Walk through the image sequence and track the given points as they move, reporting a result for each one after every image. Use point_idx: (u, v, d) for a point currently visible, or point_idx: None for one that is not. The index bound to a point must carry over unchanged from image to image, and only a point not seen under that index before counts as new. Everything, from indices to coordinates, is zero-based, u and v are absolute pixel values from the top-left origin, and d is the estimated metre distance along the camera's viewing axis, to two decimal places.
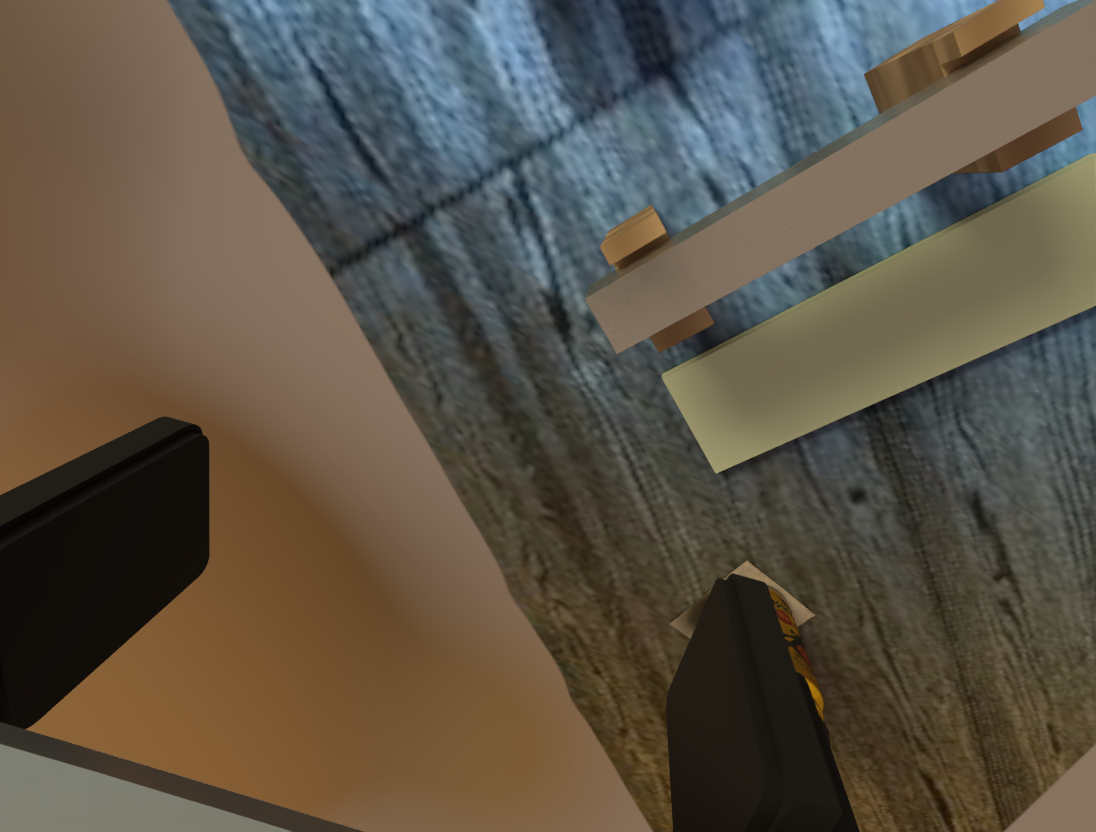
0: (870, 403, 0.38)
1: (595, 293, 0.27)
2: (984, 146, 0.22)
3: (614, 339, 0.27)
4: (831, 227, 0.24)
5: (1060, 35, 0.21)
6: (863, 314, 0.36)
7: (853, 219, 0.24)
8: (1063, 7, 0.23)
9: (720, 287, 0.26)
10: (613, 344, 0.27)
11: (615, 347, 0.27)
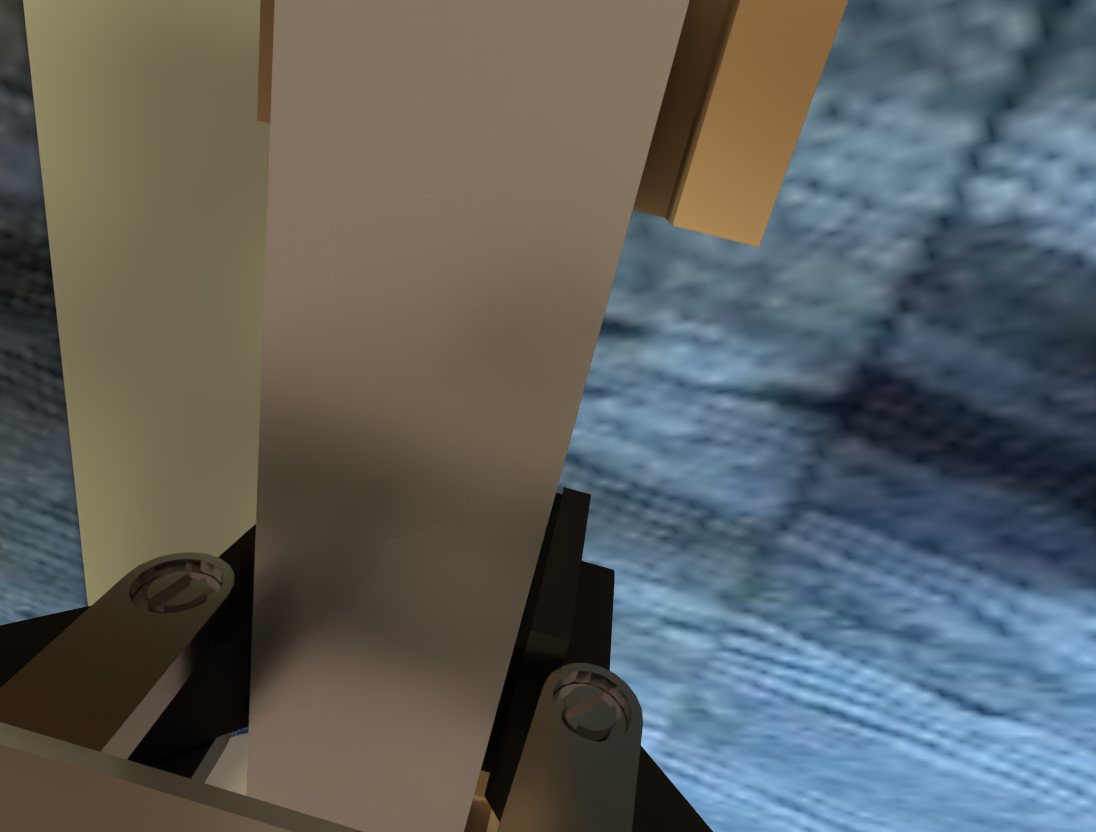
0: (56, 280, 0.18)
1: None
2: None
3: None
4: (282, 670, 0.07)
5: None
6: (229, 379, 0.18)
7: (268, 715, 0.07)
8: None
9: (311, 261, 0.05)
10: None
11: None
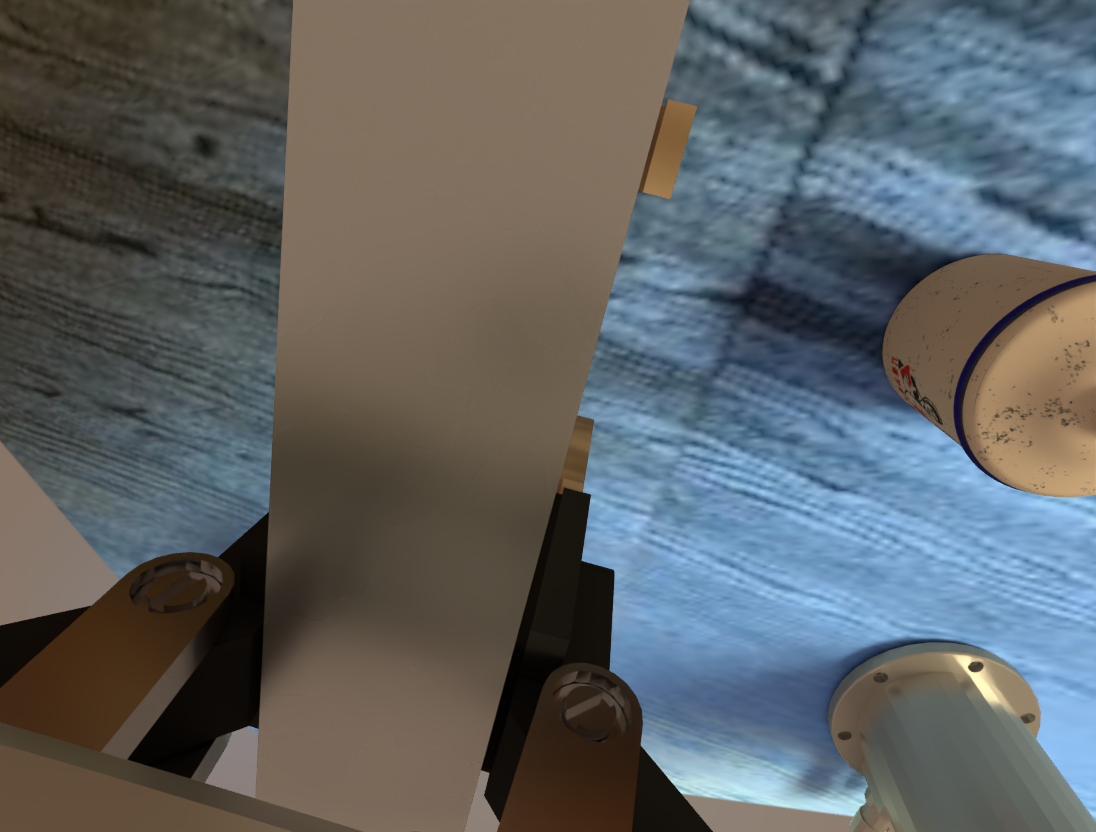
0: None
1: None
2: None
3: None
4: (293, 655, 0.07)
5: None
6: None
7: (279, 699, 0.08)
8: None
9: (325, 255, 0.05)
10: None
11: None
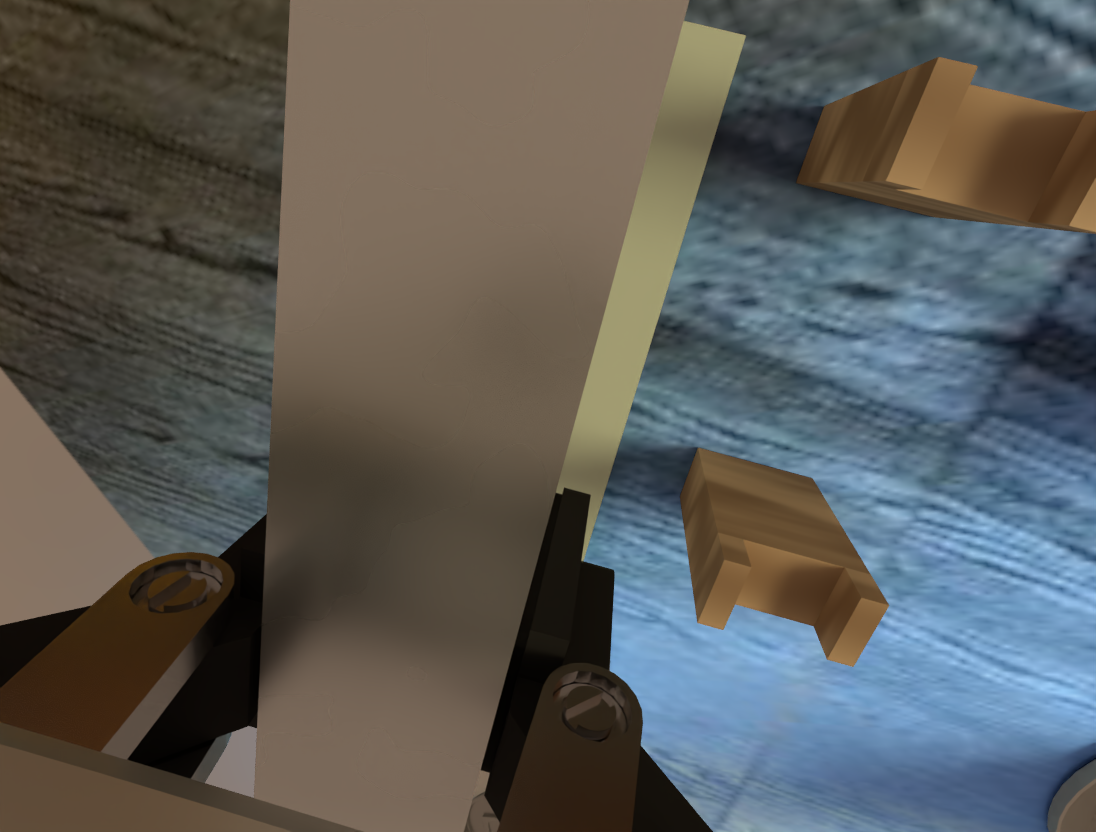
0: None
1: None
2: None
3: None
4: (291, 655, 0.07)
5: None
6: (605, 328, 0.27)
7: (277, 700, 0.07)
8: None
9: (323, 253, 0.05)
10: None
11: None
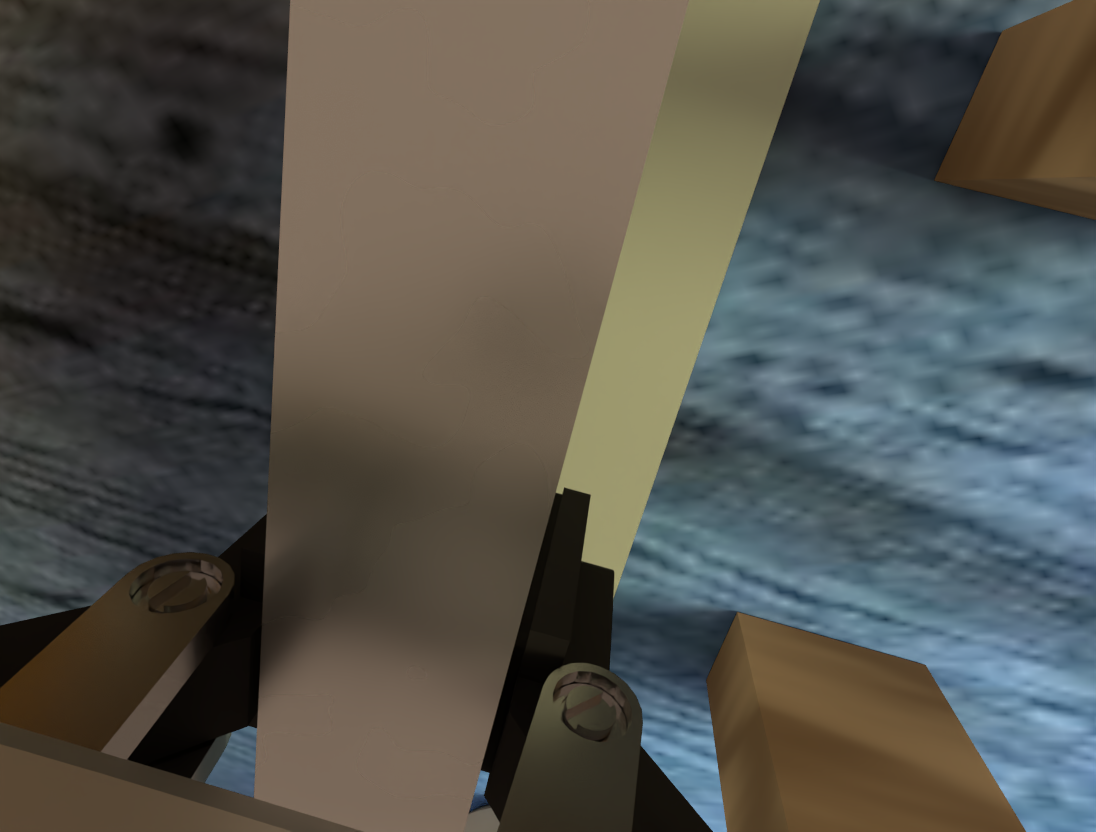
0: None
1: None
2: None
3: None
4: (291, 654, 0.07)
5: None
6: (583, 432, 0.16)
7: (277, 699, 0.07)
8: None
9: (323, 252, 0.05)
10: None
11: None
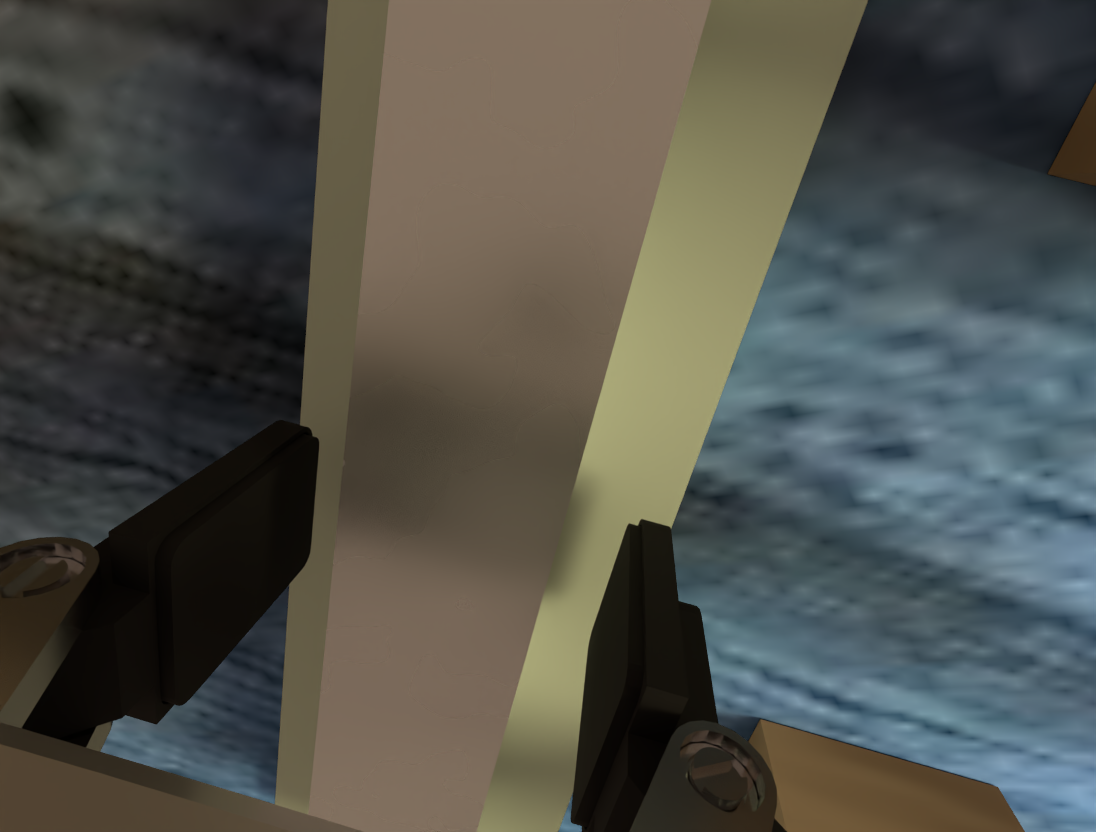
0: (309, 360, 0.12)
1: None
2: None
3: None
4: (357, 590, 0.08)
5: None
6: None
7: (342, 631, 0.09)
8: None
9: (401, 248, 0.07)
10: None
11: None
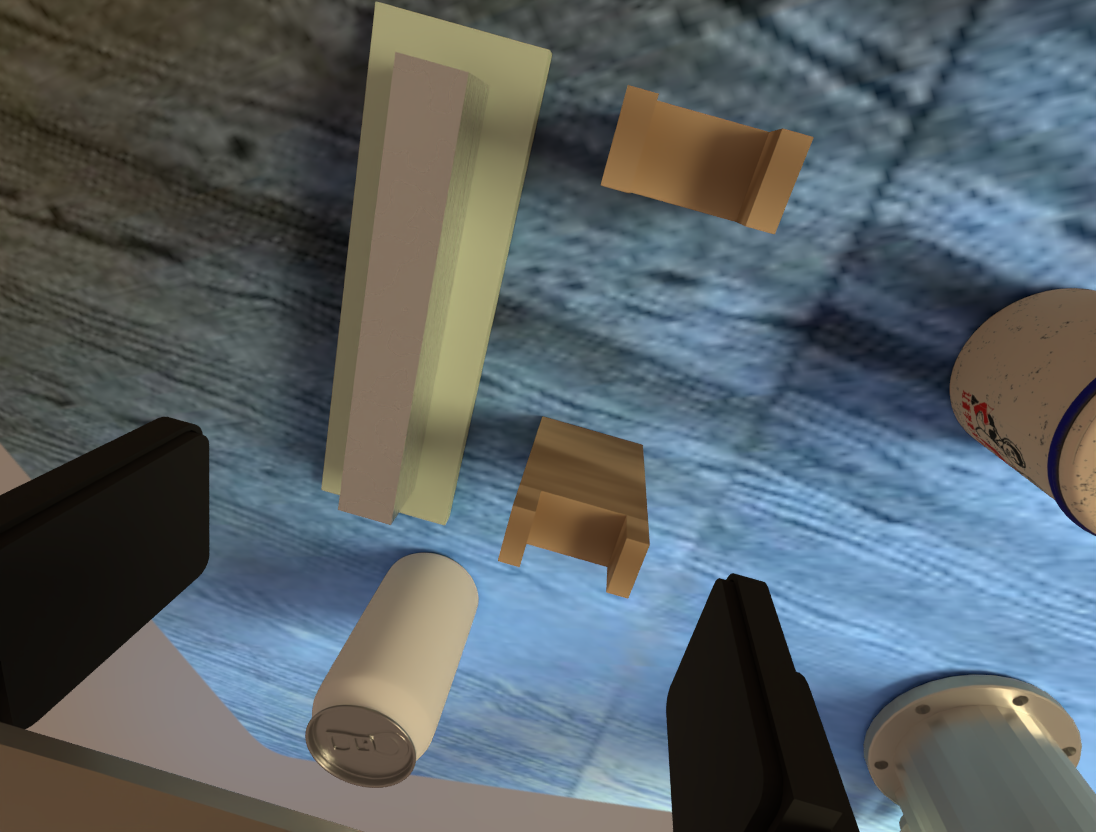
0: (350, 245, 0.30)
1: (465, 86, 0.23)
2: (355, 418, 0.29)
3: (410, 63, 0.23)
4: (371, 306, 0.27)
5: (389, 483, 0.31)
6: (449, 307, 0.31)
7: (366, 323, 0.27)
8: (412, 489, 0.35)
9: (386, 197, 0.25)
10: (406, 57, 0.23)
11: (402, 56, 0.23)
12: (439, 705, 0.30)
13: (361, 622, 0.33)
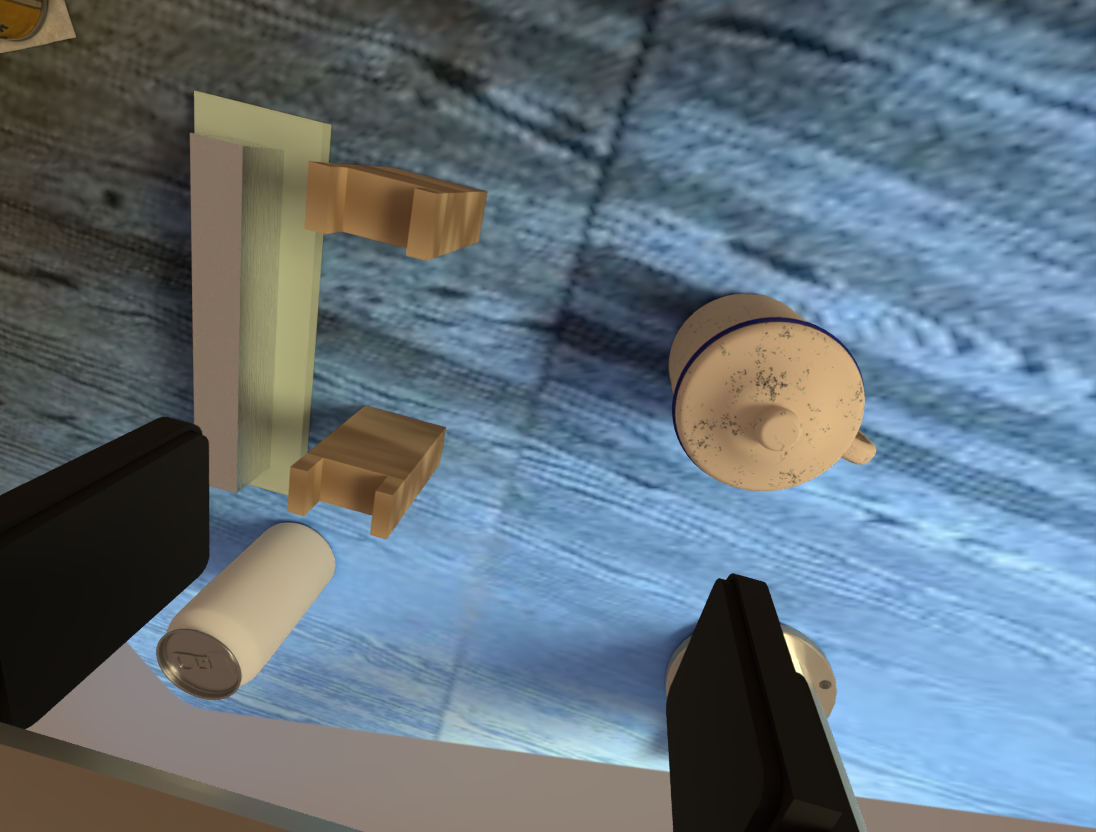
0: None
1: (241, 156, 0.31)
2: (198, 406, 0.37)
3: (201, 140, 0.31)
4: (198, 319, 0.35)
5: (230, 459, 0.39)
6: (277, 319, 0.39)
7: (196, 332, 0.36)
8: (266, 467, 0.43)
9: (198, 236, 0.33)
10: (198, 136, 0.31)
11: (195, 135, 0.31)
12: (269, 635, 0.38)
13: (219, 574, 0.41)
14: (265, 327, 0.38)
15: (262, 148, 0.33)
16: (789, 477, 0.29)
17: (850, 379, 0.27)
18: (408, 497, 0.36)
